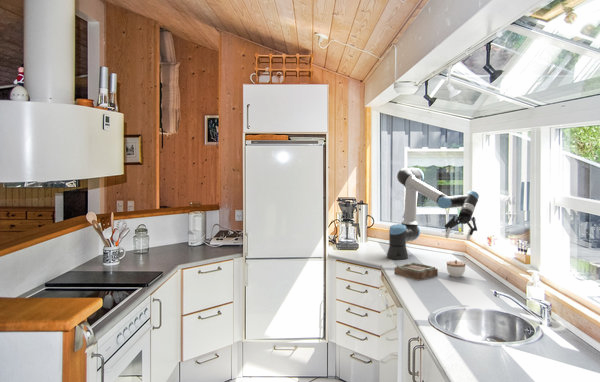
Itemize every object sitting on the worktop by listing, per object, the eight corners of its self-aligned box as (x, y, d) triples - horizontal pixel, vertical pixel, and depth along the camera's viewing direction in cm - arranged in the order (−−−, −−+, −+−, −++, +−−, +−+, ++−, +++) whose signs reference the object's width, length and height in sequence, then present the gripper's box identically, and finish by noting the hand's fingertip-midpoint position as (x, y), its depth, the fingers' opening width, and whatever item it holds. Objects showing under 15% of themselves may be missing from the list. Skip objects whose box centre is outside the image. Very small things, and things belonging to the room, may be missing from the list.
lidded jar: (466, 278, 252) (467, 262, 251) (447, 277, 254) (447, 261, 253) (463, 273, 262) (463, 258, 262) (445, 273, 264) (445, 258, 264)
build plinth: (413, 269, 273) (413, 261, 273) (437, 275, 259) (437, 267, 259) (394, 273, 263) (394, 265, 263) (418, 280, 248) (418, 271, 248)
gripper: (446, 207, 282) (435, 232, 272) (484, 208, 265) (475, 235, 254) (450, 214, 286) (439, 239, 276) (488, 216, 268) (478, 243, 258)
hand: (456, 237), depth 265 cm, fingers open, 13 cm apart
